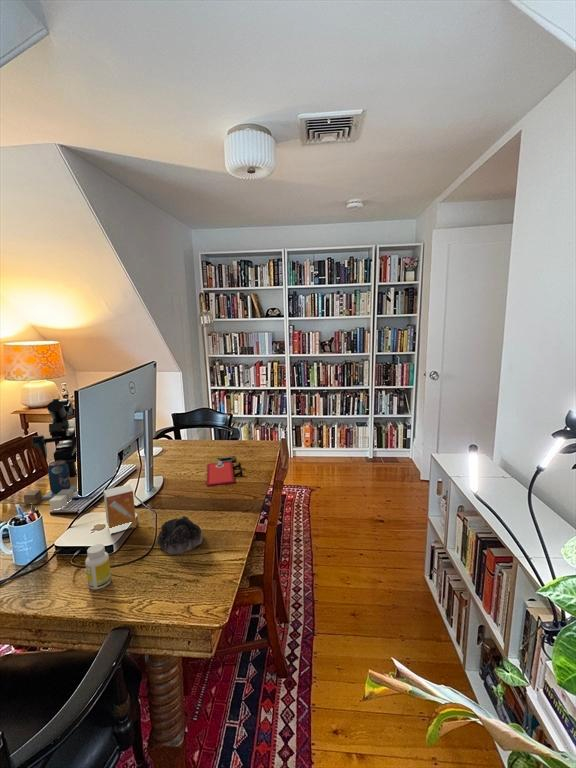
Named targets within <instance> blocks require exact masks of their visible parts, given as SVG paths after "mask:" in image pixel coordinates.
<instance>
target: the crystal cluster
mask: <svg viewBox="0 0 576 768" xmlns="http://www.w3.org/2000/svg"><path fill="white" fill-rule="evenodd" d="M160 529H161V531H159V534H158V535H157V545H159V546H160V548H161V549H162V551H163V552H165V553H168V554H169V555H178V554H184V553H185V552H188V551H191V550H193V549H195V548H196V547H197V546H199V545H201V544H202V542H203V539H204V538H203V536H202V530H201V527H200V526H199V525H198V524H196V523H194V522H193V521H191V520H190V519H189V517H187V516H185V515H183V516H182V517H181V518H177V517H176V518H173V519H169V520H168V521H165V522H164V523H162V525H161V526H160Z"/></svg>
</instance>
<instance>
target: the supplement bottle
mask: <svg viewBox="0 0 576 768" xmlns="http://www.w3.org/2000/svg"><path fill="white" fill-rule="evenodd" d="M86 553H87V554H86V555H87V557H86V559H85V561H84V564H85V565H84V566H85V571H86V579H87V585H88V588H89V589H91V590H101V589H103V588H105V587H107V586H108V585H109V584H110V583H111V582H112V581H111V580H112V572H111V571H112V569H111V563H110V557H109V556H110V555H109V553H108V552H107V551H106V548H105V544H102V543H95V544H94V545H92V546H89V547H88V549H87V550H86Z"/></svg>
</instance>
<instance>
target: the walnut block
mask: <svg viewBox="0 0 576 768" xmlns="http://www.w3.org/2000/svg"><path fill="white" fill-rule="evenodd" d="M42 497H43V496H42V490H41V489H33V490H32V489H31V490H28V491H27V492H26V493H24V494H23V501H24V505H25V504H30V503H33V504H32V505H36V504H38V503H40V502H41V501H43V498H42Z"/></svg>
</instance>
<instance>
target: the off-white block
mask: <svg viewBox="0 0 576 768" xmlns="http://www.w3.org/2000/svg"><path fill="white" fill-rule="evenodd" d="M48 502H49V507H50V511H51V510H54V509H58V508H62V507H63V506H65V505H66V504H67V496H66V495H56V496H54V497H53V498H52V499H48ZM54 511H55V510H54Z"/></svg>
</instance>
